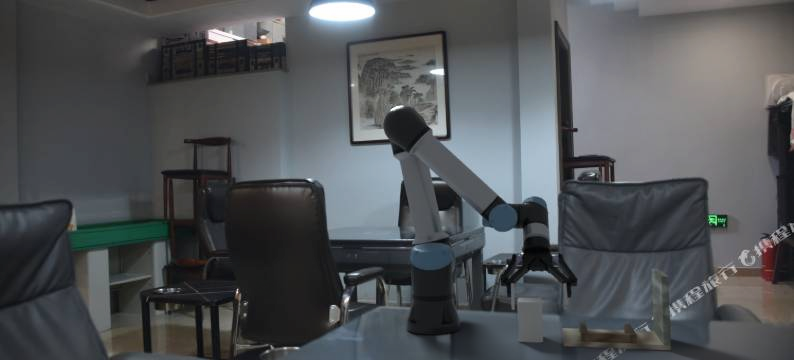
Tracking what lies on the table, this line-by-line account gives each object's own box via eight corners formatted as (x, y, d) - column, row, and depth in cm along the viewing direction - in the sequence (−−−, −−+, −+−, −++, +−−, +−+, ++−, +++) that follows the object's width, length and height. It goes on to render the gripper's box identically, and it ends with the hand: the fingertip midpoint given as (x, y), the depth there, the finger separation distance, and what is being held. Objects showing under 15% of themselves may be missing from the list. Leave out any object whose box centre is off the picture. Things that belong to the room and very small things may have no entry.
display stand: (564, 346, 140) (561, 275, 140) (562, 332, 152) (560, 267, 152) (671, 350, 133) (668, 276, 134) (660, 336, 146) (657, 268, 146)
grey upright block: (518, 341, 145) (517, 302, 145) (519, 335, 151) (518, 297, 151) (542, 342, 143) (541, 302, 143) (543, 336, 149) (541, 298, 149)
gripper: (581, 250, 164) (588, 315, 149) (493, 251, 169) (492, 314, 155) (582, 233, 159) (590, 299, 144) (491, 235, 164) (490, 298, 150)
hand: (539, 307), depth 149 cm, fingers open, 13 cm apart
